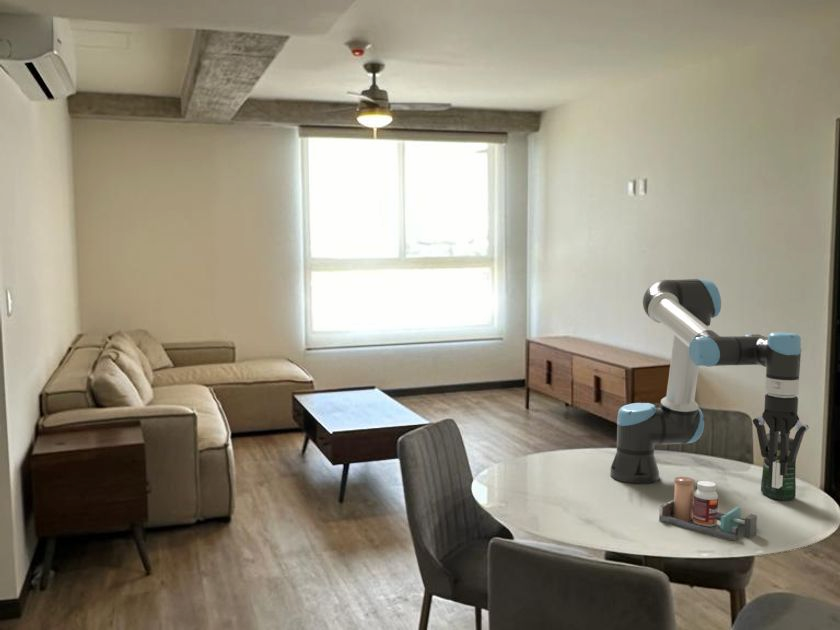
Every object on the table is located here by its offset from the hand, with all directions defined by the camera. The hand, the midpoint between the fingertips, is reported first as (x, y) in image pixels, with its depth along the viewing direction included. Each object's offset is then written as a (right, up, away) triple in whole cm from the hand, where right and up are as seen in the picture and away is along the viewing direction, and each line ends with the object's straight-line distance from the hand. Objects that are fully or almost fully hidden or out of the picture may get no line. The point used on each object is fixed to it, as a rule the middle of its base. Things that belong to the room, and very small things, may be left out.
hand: (777, 486), depth 196 cm
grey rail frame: (-13, -13, +14) cm, 23 cm away
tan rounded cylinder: (-18, -13, +18) cm, 28 cm away
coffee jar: (+17, -11, +36) cm, 42 cm away
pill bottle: (-13, -13, +14) cm, 23 cm away
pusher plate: (-6, -14, +7) cm, 17 cm away
